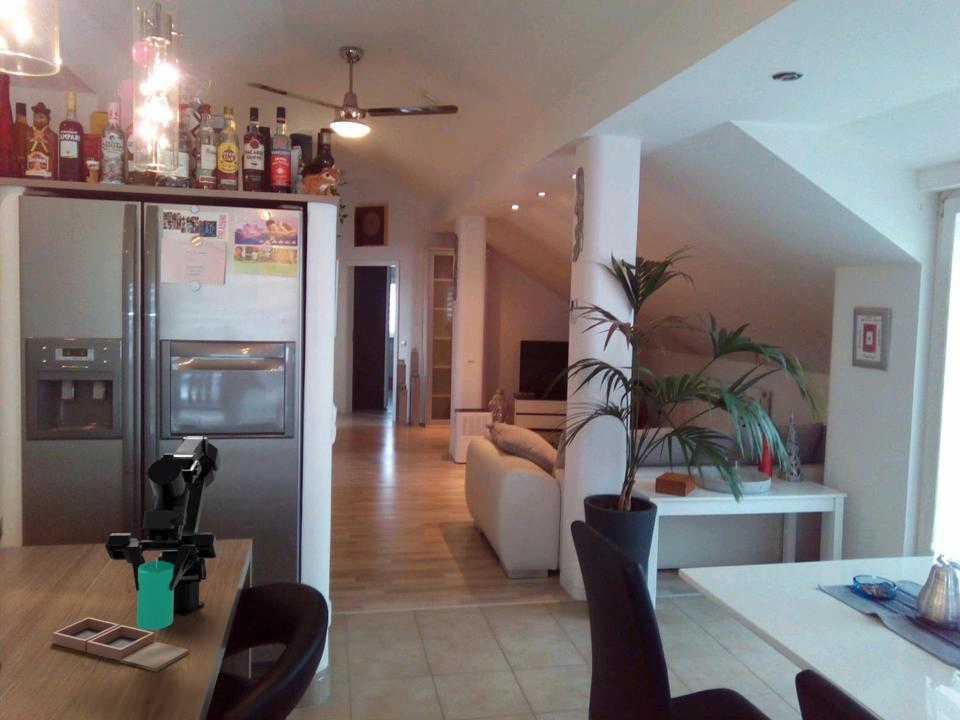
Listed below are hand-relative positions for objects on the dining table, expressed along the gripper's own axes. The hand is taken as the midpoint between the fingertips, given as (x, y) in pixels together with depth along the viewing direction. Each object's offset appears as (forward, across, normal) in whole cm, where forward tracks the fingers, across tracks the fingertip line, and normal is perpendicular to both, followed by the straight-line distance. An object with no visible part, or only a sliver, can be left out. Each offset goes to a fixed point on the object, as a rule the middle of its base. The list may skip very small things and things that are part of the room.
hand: (154, 589), depth 132 cm
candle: (+4, 0, +6) cm, 7 cm away
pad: (+8, 0, +10) cm, 13 cm away
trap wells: (+4, -11, +15) cm, 19 cm away
